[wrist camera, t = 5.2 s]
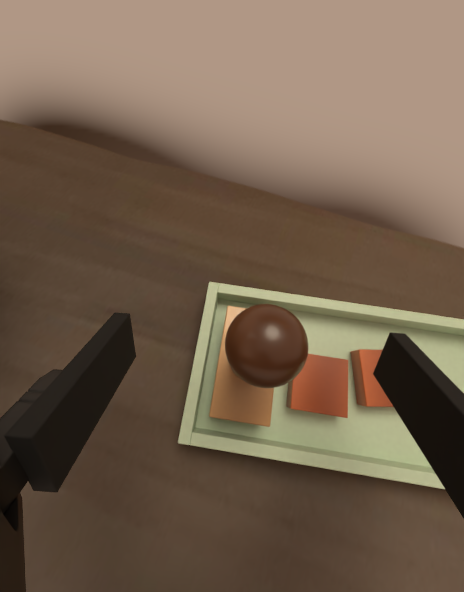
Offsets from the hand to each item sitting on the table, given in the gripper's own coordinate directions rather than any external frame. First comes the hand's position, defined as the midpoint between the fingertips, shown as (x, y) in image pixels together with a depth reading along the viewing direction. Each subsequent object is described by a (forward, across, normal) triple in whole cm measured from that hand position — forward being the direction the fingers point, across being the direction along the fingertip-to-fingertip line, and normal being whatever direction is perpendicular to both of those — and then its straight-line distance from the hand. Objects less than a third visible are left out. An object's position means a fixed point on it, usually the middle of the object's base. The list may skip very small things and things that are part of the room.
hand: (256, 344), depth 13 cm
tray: (+5, +8, -7) cm, 11 cm away
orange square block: (+5, +10, -6) cm, 13 cm away
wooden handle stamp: (+5, 0, -6) cm, 8 cm away
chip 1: (+4, +5, -6) cm, 9 cm away
